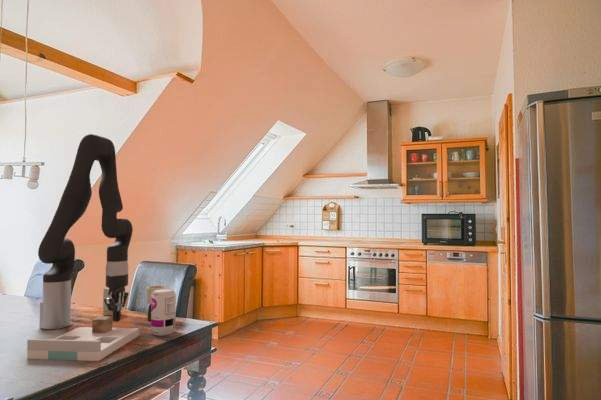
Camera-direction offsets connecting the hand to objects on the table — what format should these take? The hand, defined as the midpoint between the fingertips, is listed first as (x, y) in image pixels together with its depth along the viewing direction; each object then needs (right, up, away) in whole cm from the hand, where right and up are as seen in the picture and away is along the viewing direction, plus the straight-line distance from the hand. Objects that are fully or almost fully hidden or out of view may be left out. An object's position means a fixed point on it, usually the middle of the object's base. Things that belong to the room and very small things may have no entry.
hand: (116, 321), depth 145 cm
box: (-14, -5, +25) cm, 29 cm away
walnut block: (-1, -1, -9) cm, 9 cm away
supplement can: (+18, -4, -2) cm, 18 cm away
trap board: (-1, -3, -17) cm, 17 cm away
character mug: (+8, -4, +16) cm, 19 cm away
